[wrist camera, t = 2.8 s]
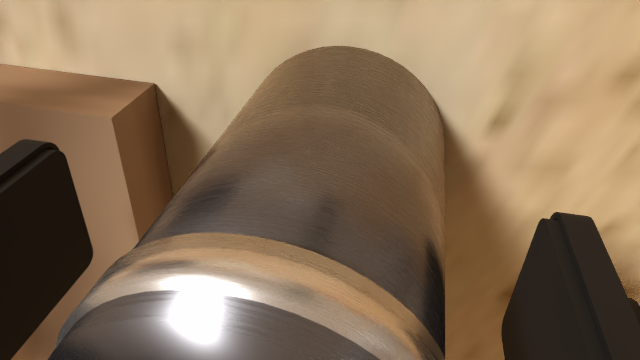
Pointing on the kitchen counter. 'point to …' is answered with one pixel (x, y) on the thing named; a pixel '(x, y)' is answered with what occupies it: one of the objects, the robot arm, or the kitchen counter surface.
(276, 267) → the lens
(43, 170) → the robot arm
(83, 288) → the mount board
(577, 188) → the kitchen counter surface
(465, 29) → the kitchen counter surface
